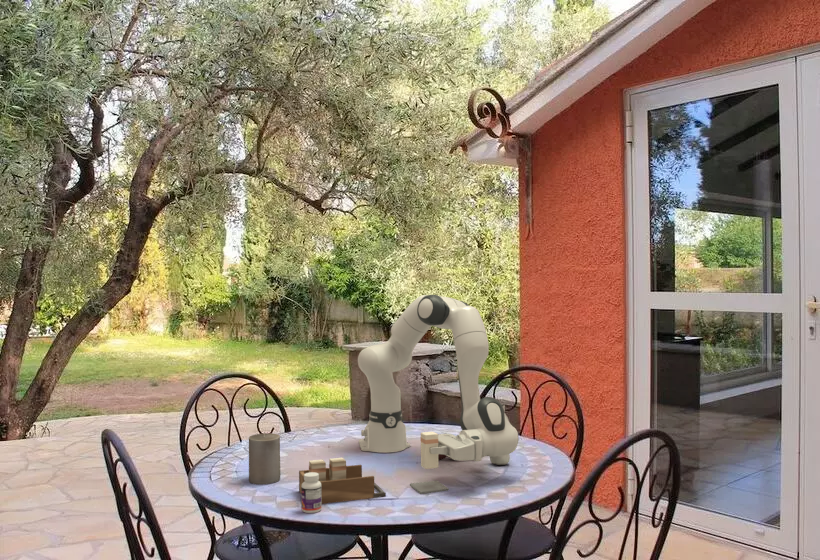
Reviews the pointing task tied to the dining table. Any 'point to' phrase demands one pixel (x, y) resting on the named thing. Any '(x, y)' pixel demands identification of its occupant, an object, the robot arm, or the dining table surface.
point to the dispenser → (342, 481)
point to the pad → (429, 487)
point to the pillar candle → (264, 458)
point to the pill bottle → (311, 493)
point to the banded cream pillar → (426, 457)
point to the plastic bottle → (501, 459)
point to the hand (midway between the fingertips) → (426, 448)
